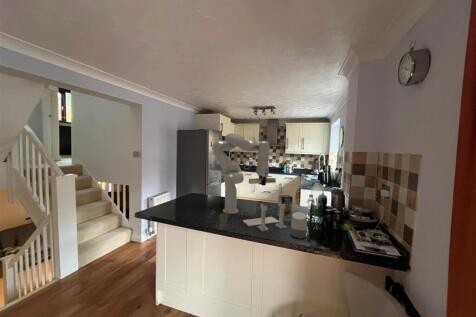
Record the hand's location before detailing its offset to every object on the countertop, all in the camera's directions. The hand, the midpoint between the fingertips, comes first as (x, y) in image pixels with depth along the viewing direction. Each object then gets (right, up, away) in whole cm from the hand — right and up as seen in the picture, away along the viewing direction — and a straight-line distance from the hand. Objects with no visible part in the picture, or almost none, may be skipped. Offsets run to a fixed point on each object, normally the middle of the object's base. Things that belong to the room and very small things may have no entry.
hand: (262, 184), depth 147 cm
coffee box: (+19, -27, +14) cm, 36 cm away
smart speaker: (+19, -29, -21) cm, 41 cm away
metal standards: (+6, -28, -9) cm, 29 cm away
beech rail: (0, +1, 0) cm, 1 cm away
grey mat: (-1, -27, +2) cm, 27 cm away
